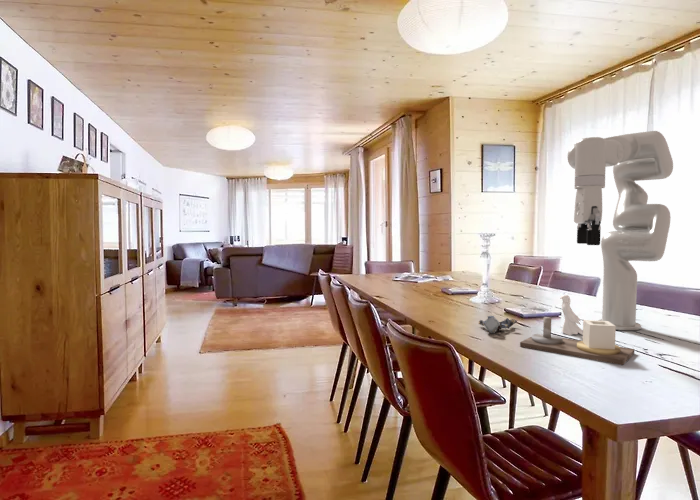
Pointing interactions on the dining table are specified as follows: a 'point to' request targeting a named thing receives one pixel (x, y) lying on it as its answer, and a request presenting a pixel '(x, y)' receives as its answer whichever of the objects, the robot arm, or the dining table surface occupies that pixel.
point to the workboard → (574, 347)
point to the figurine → (570, 318)
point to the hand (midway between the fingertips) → (587, 244)
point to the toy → (496, 324)
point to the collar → (599, 334)
